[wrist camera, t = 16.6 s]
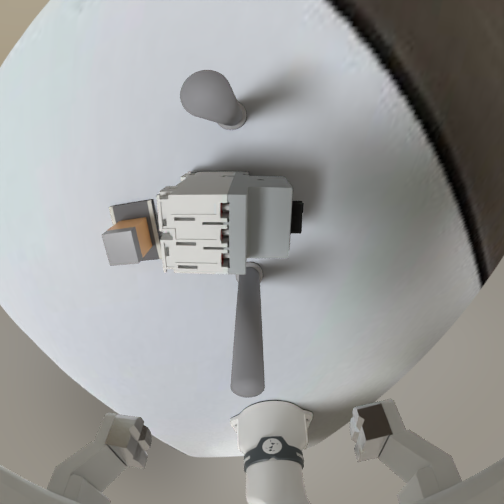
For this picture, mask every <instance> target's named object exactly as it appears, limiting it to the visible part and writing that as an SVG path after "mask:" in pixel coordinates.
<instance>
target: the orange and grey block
mask: <svg viewBox="0 0 504 504" xmlns="http://www.w3.org/2000/svg"><path fill="white" fill-rule="evenodd" d="M102 238H103V242H104V246H105V249H106V253H107V257H108V260H109V263H110V266H114V265H126V264H137V263H139V262H140V261H141V260H142V259H143V257H144V256H145V255H146V254H147V252H148V251H149V250H150V248H151V247H152V242H151V238H150V233H149V228H148V224H147V219H146V217H143V218H136V219H129V220H123V221H119V222H117V223H116V224H115V225H114V226H112V227H111V228H110V229H108V230H107V231H106V232H105V233H103V234H102Z"/></svg>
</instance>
